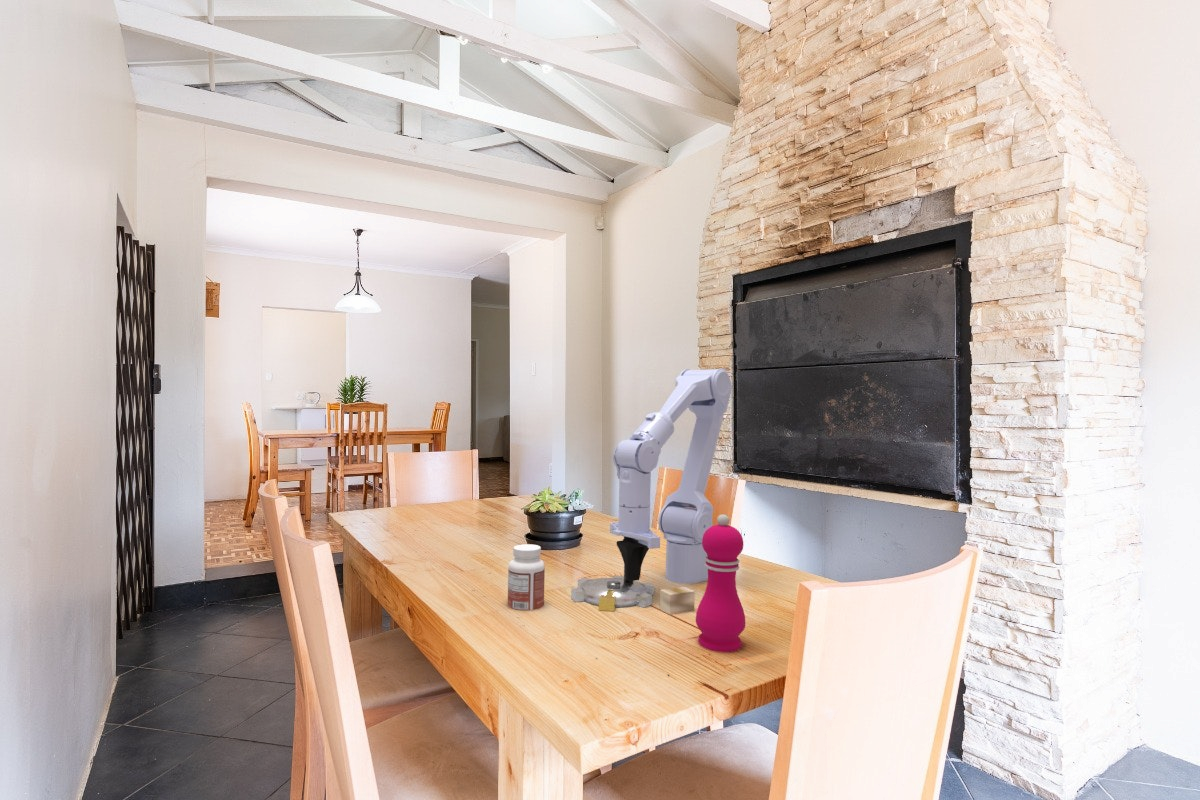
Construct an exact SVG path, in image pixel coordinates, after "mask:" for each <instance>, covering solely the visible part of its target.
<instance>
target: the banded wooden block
mask: <svg viewBox="0 0 1200 800" xmlns="http://www.w3.org/2000/svg"><path fill="white" fill-rule="evenodd" d="M695 594H696V593H695V591H694V590H693V589H690V588H688V587H685V586H680V587H669V588H664V589H660V591H659V610H661V611H663V612H664V613H666V614H668V615H675V614H681V613H687V612H695V597H696V595H695Z"/></svg>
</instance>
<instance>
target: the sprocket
mask: <svg viewBox="0 0 1200 800" xmlns="http://www.w3.org/2000/svg"><path fill="white" fill-rule="evenodd" d="M653 596H655V585H654V584H652V583H651V582H639V581H638V580H635V581H628V580H627V579H626V575H625V565H624V566H623V576H622V575H612V577H601V578H599V577H598V578H593V579H592V578H590V577H589V578H588V577H583V578H579V579H577V587H574V588H573V587H572V588H571V590H570V598H571V600H572V601H573V602H576V603H578V602H585V603H586V604H587V603H588V604H590V605H593V606H598V611H604V612H605V611H607V612H615V610H616V608H629V607H636V606H637V607H641V608H643V609H645V608H647V607H650V606H651V605H652V600H653Z"/></svg>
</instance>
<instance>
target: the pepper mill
mask: <svg viewBox="0 0 1200 800" xmlns="http://www.w3.org/2000/svg"><path fill="white" fill-rule="evenodd" d="M716 518H717V519H716V522H717V524H713V526H711V527H710V528H708V529H707V530H706V531H705V533H704V535H703V538H702V546H703V549H704V551H705V552H706V553H707V556H706V557H705V561H706V563H705V567H706V568H708V580H707V581H706V582H707V583H706V588H705V591H704V593H703V596H702V598H701V600H700V602H699V603H698V606H697V609H696V614H695V623H696V626H697V628H698V630H700V632H701V633H700V634H699V635H698V639H697V640H698V644H699V645H700V646H701V647H702V648H704V649H707V650H710V651H714V652H719V653H727V652H728V653H732V652H736V651H738V650H740V649H741V648H742V639H741V638H740V635H741V634H742V633H743V632H744V630H745V628H746V615H745V610H744V608H743V605H742V602H741V600H740V598H739V594H738V590H737V584H736V581H737V580H736V576H737V571H738V570H739V569H740V566H739V563H740V559H738V557H739V555H740V554H741V553H742V552H743V550H744V538H743V536H742V534H741V532H740V531H739V530H738V529H737V528H735V527H734V526H731V525H729V524H730V518H729V516H728V515H726V514H723V513H722V514H719V515H718V516H717V517H716Z"/></svg>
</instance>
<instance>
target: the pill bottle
mask: <svg viewBox="0 0 1200 800" xmlns="http://www.w3.org/2000/svg"><path fill="white" fill-rule="evenodd" d="M512 548H513V549H512V550H513V551H512V556H513V557H514V558H513V559H511V560H510V561H509V563H508V570H507V572H508V575H507V577H508V578H507V606H508V608H510V609H512V610H516V611H535V610H539V609H541V608H543V607H544V606H545V569H546V568H545V567H546V566H545V562H544V561H543V560H542V559H541V558H540V557H541V554H542V547H541V546H540V545H538V544H532V543H531V544H530V543H525V544H523V543H522V544H517V545H515V546H513V547H512Z"/></svg>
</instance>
